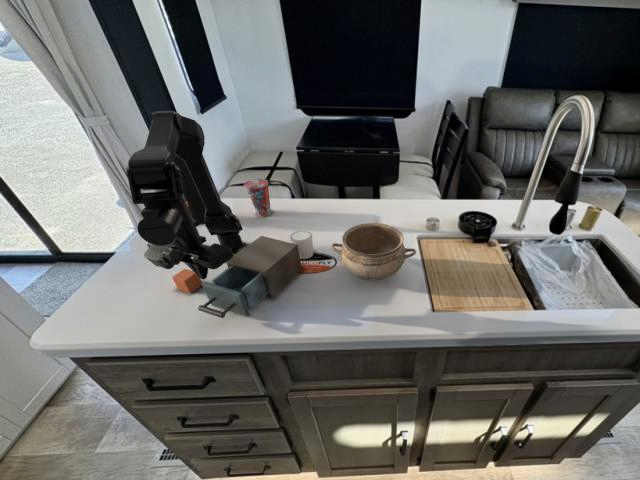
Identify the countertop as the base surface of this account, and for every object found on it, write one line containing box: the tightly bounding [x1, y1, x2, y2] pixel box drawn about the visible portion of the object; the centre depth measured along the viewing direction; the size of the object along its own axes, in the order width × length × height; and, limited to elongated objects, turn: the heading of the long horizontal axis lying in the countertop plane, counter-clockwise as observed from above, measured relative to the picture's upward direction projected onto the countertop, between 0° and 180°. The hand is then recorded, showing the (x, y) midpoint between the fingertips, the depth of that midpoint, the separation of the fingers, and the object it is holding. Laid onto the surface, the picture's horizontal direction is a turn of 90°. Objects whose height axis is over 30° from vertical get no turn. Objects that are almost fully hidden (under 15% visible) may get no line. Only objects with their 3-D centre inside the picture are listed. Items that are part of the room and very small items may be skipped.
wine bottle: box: [174, 155, 206, 225], centre depth 112 cm, size 8×8×30 cm
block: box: [171, 268, 203, 294], centre depth 91 cm, size 4×4×4 cm
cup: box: [243, 178, 272, 217], centre depth 122 cm, size 9×8×12 cm
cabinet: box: [225, 235, 303, 300], centre depth 93 cm, size 15×13×9 cm
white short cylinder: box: [289, 230, 314, 260], centre depth 104 cm, size 7×7×7 cm
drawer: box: [197, 265, 269, 319], centre depth 84 cm, size 18×11×7 cm, turn 159°
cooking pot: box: [330, 222, 417, 281], centre depth 96 cm, size 25×19×12 cm
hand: (204, 278), depth 78 cm, fingers closed
